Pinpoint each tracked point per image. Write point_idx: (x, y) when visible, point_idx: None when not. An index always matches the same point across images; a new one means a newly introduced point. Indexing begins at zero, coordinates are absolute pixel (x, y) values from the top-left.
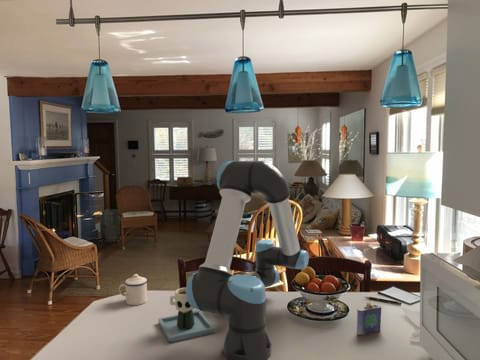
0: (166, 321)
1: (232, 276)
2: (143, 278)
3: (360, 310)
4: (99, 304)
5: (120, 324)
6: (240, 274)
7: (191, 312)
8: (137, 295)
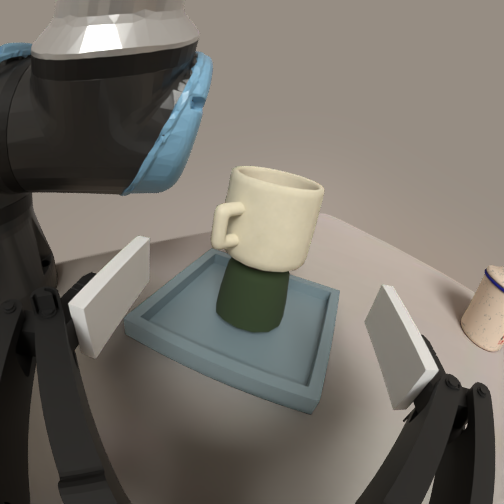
0: (324, 308)
1: (31, 45)
2: None
3: None
4: (470, 293)
5: (372, 271)
6: (4, 44)
7: (232, 265)
8: (474, 302)
